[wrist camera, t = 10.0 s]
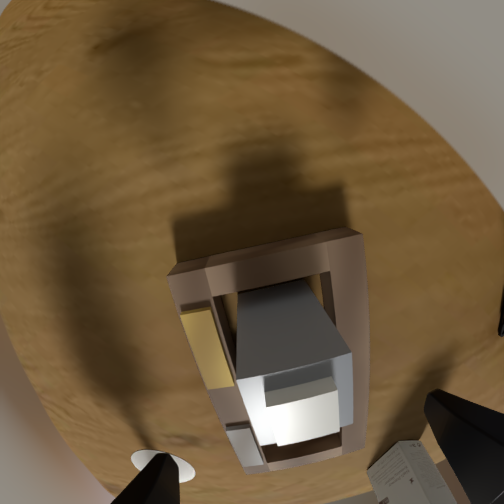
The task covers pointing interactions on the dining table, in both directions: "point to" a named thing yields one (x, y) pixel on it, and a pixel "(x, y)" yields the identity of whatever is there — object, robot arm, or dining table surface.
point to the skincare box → (408, 477)
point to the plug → (292, 365)
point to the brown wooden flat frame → (222, 346)
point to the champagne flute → (185, 469)
